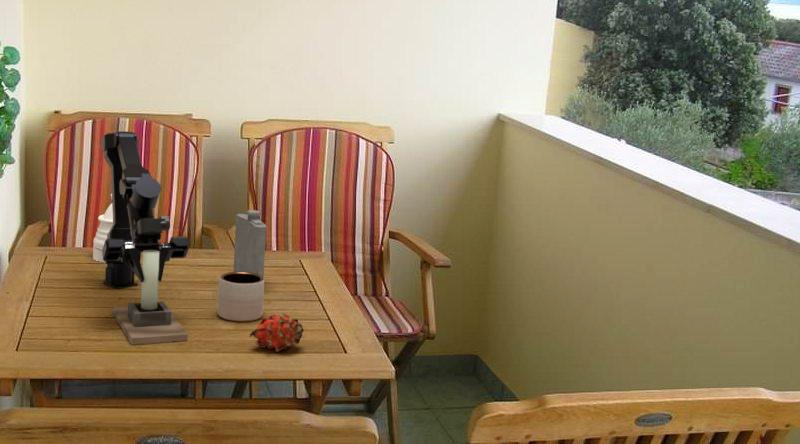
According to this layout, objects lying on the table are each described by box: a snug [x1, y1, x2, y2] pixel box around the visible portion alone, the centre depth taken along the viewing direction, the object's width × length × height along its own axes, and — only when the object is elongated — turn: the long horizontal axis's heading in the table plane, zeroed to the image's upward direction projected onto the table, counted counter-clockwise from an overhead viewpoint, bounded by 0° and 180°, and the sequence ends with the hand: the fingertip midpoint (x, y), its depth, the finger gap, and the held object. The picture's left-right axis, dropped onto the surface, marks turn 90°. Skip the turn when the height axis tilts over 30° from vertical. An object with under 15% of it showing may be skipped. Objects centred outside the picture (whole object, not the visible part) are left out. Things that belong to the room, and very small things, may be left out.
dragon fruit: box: [249, 312, 305, 353], centre depth 208 cm, size 8×8×12 cm
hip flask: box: [232, 209, 268, 278], centre depth 253 cm, size 16×4×20 cm, turn 31°
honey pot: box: [92, 193, 113, 264], centre depth 267 cm, size 13×13×18 cm
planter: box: [216, 271, 266, 323], centre depth 227 cm, size 11×11×10 cm
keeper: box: [112, 301, 188, 346], centre depth 214 cm, size 22×12×4 cm, turn 27°
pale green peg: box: [140, 250, 159, 310], centre depth 213 cm, size 4×4×13 cm
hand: (151, 281), depth 211 cm, fingers closed on pale green peg, 4 cm apart
